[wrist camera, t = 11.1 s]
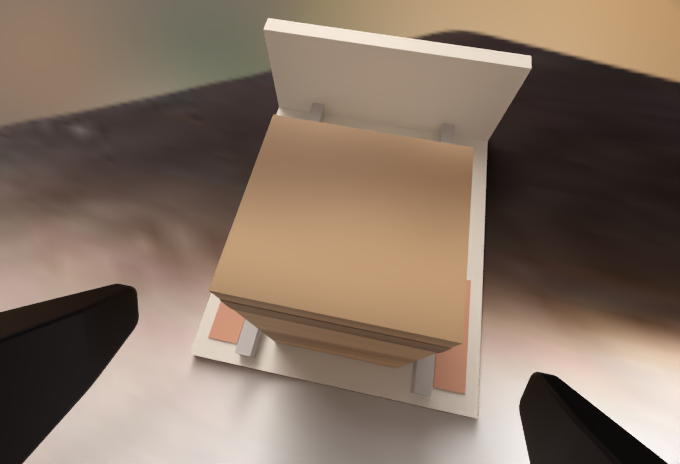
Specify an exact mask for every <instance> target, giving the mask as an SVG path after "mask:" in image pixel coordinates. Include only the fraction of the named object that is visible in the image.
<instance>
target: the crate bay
mask: <svg viewBox="0 0 680 464" xmlns="http://www.w3.org/2000/svg"><path fill="white" fill-rule="evenodd" d="M263 30H264V35H265V40H266V45H267V50H268V55H269V60H270V65H271V69H272V74H273V79H274V84H275V89H276V94H277V99H278V104H279V109H278V112H277V115H280V116H286V117H292V118H298V119H304V120H310V121H316V122H322V123H328V124H334V125H340V126H346V127H352V128H358V129H364V130H370V131H376V132H382V133H388V134H395V135H401V136H407V137H413V138H419V139H425V140H431V141H437V142H443V143H449V144H455V145H461V146H467V147H473V148H474V154H473V172H472V190H471V208H470V227H469V245H468V263H467V281H466V299H465V317H464V335H463V344H460V345H458V346H455V347H452V349H450V350H447V351H444V352H442V353H436V354H433V355H431V356H428V357H425V358H423V359H420V360H417V361H414V362H412V363H409V364H406V365H404V366H401V367H398V368H393V367H388V366H384V365H379V364H374V363H370V362H365V361H361V360H356V359H351V358H347V357H342V356H338V355H333V354H328V353H324V352H319V351H315V350H310V349H305V348H301V347H296V346H291V345H287V344H282V343H278V342H274V341H273V340H272V339H271V338H269V337H268V336H267V335H265V334H264V333H263V332H262V331H260V330H259V329H258V328H256V327H255V326H254V325H253V324H251V323H250V322H249V321H247V320H246V319H245V318H243V317H242V316H241V315H240V314H238V313H237V312H236V311H234V310H233V309H230V308H229V307H228V306H226V305H225V304H224V303H223V302H221V301H220V299H219V298H218V297H216V296H215V295H214V294H212V293H211V296H210V299H209V301H208V304H207V307H206V310H205V312H204V315H203V318H202V320H201V323H200V326H199V329H198V331H197V334H196V337H195V340H194V342H193V345H192V348H191V351H190V353H189V354H191V355H195V356H200V357H204V358H208V359H213V360H217V361H222V362H226V363H231V364H235V365H240V366H244V367H249V368H253V369H258V370H262V371H266V372H271V373H275V374H280V375H284V376H289V377H293V378H298V379H302V380H307V381H311V382H316V383H320V384H324V385H329V386H333V387H338V388H342V389H347V390H351V391H356V392H360V393H365V394H369V395H373V396H378V397H382V398H387V399H391V400H396V401H400V402H405V403H409V404H414V405H418V406H423V407H427V408H431V409H436V410H440V411H445V412H449V413H454V414H458V415H463V416H467V417H472V418H476V419H478V398H479V370H480V342H481V314H482V285H483V257H484V229H485V201H486V172H487V144H488V140H489V138H490V136H491V135H492V133H493V131H494V130H495V128H496V126H497V125H498V123H499V122H500V120H501V118H502V117H503V115H504V113H505V112H506V110H507V108H508V107H509V105H510V103H511V102H512V100H513V98H514V97H515V95H516V93H517V92H518V90H519V88H520V87H521V85H522V83H523V82H524V80H525V78H526V77H527V75H528V74H529V72H530V70H531V56H528V55H521V54H514V53H507V52H500V51H493V50H486V49H479V48H473V47H466V46H459V45H452V44H445V43H438V42H431V41H424V40H417V39H410V38H403V37H395V36H389V35H381V34H375V33H368V32H361V31H354V30H347V29H340V28H333V27H326V26H319V25H312V24H305V23H298V22H291V21H284V20H277V19H271V18H268V20H267V22H266V24H265V27H264V29H263Z"/></svg>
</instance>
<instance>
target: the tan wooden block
mask: <svg viewBox="0 0 680 464" xmlns="http://www.w3.org/2000/svg"><path fill="white" fill-rule="evenodd" d="M473 154H474V148H473V147H467V146H461V145H455V144H449V143H443V142H437V141H431V140H425V139H419V138H413V137H407V136H401V135H395V134H388V133H382V132H376V131H370V130H364V129H358V128H352V127H346V126H340V125H334V124H328V123H322V122H316V121H310V120H304V119H298V118H292V117H286V116H280V115H274V114H273V117H272V120H271V122H270V125H269V128H268V131H267V133H266V136H265V139H264V141H263V144H262V147H261V150H260V152H259V155H258V158H257V160H256V163H255V166H254V168H253V171H252V174H251V177H250V179H249V182H248V185H247V187H246V190H245V193H244V196H243V198H242V201H241V204H240V206H239V209H238V212H237V215H236V217H235V220H234V223H233V225H232V228H231V231H230V234H229V236H228V239H227V242H226V244H225V247H224V250H223V252H222V255H221V258H220V261H219V263H218V266H217V269H216V271H215V274H214V277H213V280H212V282H211V285H210V288H209V291H210V292H211V293H212V294H214V295H215V296H216V297H218V298H219V299H220V301H221V302H223V303H224V304H225V305H226V306H228V307H229V308H230V309H233V310H234V311H236V312H237V313H238V314H240V315H241V316H242V317H243V318H245V319H246V320H247V321H249V322H250V323H251V324H253V325H254V326H255V327H256V328H258V329H259V330H260V331H262V332H263V333H264V334H265V335H267V336H268V337H269V338H271V339H272V340H273V341H274V342H278V343H282V344H287V345H291V346H296V347H301V348H305V349H310V350H315V351H319V352H324V353H328V354H333V355H338V356H342V357H347V358H351V359H356V360H361V361H365V362H370V363H374V364H379V365H384V366H388V367H393V368H398V367H401V366H404V365H406V364H409V363H412V362H414V361H417V360H420V359H423V358H425V357H428V356H431V355H433V354H436V353H442V352H444V351H447V350H450V349H452V347H455V346H458V345H460V344H463V335H464V317H465V299H466V281H467V263H468V245H469V227H470V208H471V190H472V172H473Z"/></svg>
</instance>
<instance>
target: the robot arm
mask: <svg viewBox="0 0 680 464" xmlns="http://www.w3.org/2000/svg"><path fill="white" fill-rule="evenodd" d="M138 318H139V313H138V299H137V291H136V289H135V288H134V287H131V286H127V285H122V284H113V285H109V286H105V287H101V288H97V289H92V290H88V291H84V292H80V293H76V294H72V295H68V296H64V297H60V298H56V299H52V300H48V301H44V302H40V303H36V304H32V305H28V306H24V307H20V308H16V309H12V310H8V311H4V312H0V464H22V463H23V462H24V461H25V460H26V459H27V458H28V457H29V456H30V455H31V453H32V452H33V451H34V450H35V449H36V448H37V447H38V446H39V444H40V443H41V442H42V441H43V440H44V439H45V438H46V437H47V435H48V434H49V433H50V432H51V431H52V430H53V429H54V428H55V427H56V425H57V424H58V423H59V422H60V421H61V420H62V419H63V418H64V416H65V415H66V414H67V413H68V412H69V411H70V410H71V409H72V407H73V406H74V405H75V404H76V403H77V402H78V401H79V400H80V399H81V397H82V396H83V395H84V394H85V393H86V392H87V390H88V389H89V388H90V387H91V386H92V385H93V383H94V382H95V381H96V379H97V378H98V377H99V376H100V374H101V373H102V372H103V370H104V369H105V368H106V366H107V365H108V364H109V362H110V361H111V360H112V358H113V357H114V356H115V354H116V353H117V352H118V350H119V349H120V347H121V346H122V345H123V343H124V342H125V341H126V339H127V338H128V337H129V335H130V334H131V333H132V331H133V330H134V329H135V327H136V325H137V323H138ZM519 410H520V416H521V421H522V426H523V431H524V436H525V440H526V445H527V450H528V455H529V460H530V464H668V463H666V462H665V461H664V460H663V459H661V458H660V457H659V456H657V455H656V454H655V453H654V452H652V451H651V450H650V449H649V448H647V447H646V446H645V445H643V444H642V443H641V442H640V441H638V440H637V439H636V438H635V437H633V436H632V435H631V434H629V433H628V432H627V431H626V430H624V429H623V428H622V427H621V426H619V425H618V424H617V423H615V422H614V421H613V420H612V419H610V418H609V417H608V416H607V415H605V414H604V413H603V412H601V411H600V410H599V409H598V408H596V407H595V406H594V405H593V404H591V403H590V402H589V401H587V400H586V399H585V398H584V397H582V396H581V395H580V394H579V393H577V392H576V391H575V390H573V389H572V388H571V387H570V386H568V385H567V384H566V383H564V382H563V381H562V380H561V379H559V378H558V377H557V376H554V375H550V374H545V373H540V372H535V373H533V374H532V375H531V377H530V379H529V382H528V384H527V386H526V388H525V391H524V393H523V395H522V398H521V400H520V405H519Z"/></svg>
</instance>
